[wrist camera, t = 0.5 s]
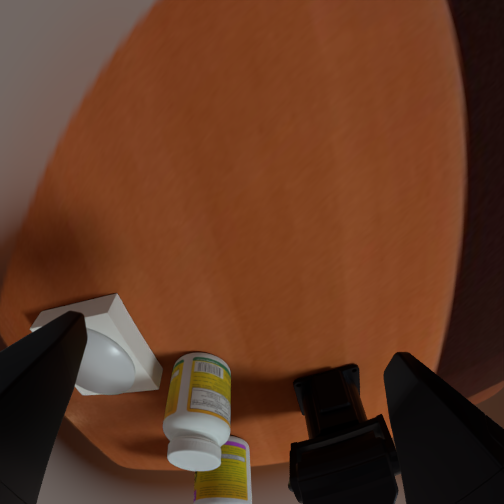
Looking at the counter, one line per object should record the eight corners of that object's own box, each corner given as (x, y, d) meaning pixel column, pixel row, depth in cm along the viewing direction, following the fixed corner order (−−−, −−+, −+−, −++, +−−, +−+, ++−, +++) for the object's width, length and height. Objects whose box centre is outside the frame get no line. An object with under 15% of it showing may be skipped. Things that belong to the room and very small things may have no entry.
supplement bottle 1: (218, 344, 26) (214, 443, 18) (238, 381, 29) (241, 471, 20) (162, 356, 27) (144, 449, 18) (187, 391, 29) (179, 476, 21)
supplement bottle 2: (189, 434, 34) (182, 528, 22) (242, 429, 33) (246, 528, 22) (206, 456, 37) (203, 538, 25) (253, 452, 36) (259, 537, 25)
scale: (163, 365, 28) (158, 394, 25) (86, 374, 29) (76, 399, 26) (119, 289, 24) (105, 317, 21) (39, 309, 25) (22, 333, 22)
